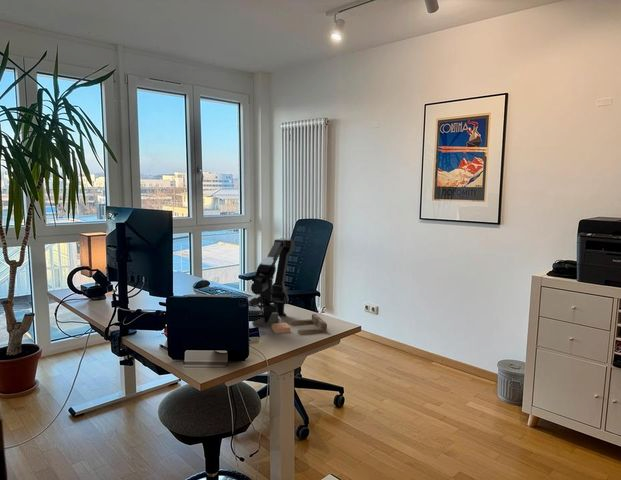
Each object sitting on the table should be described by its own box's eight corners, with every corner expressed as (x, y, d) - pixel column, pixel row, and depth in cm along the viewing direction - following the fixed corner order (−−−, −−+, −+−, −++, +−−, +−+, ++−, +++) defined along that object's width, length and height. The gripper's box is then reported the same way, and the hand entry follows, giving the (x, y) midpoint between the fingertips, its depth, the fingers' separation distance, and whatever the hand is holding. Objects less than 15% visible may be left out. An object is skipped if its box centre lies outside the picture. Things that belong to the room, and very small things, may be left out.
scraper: (254, 327, 199) (254, 316, 198) (251, 322, 206) (251, 312, 205) (280, 325, 203) (281, 314, 203) (277, 320, 210) (277, 310, 209)
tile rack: (289, 323, 206) (290, 315, 205) (315, 321, 210) (315, 313, 209) (299, 334, 192) (299, 325, 191) (326, 332, 196) (327, 323, 195)
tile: (271, 328, 199) (271, 323, 198) (286, 327, 201) (286, 322, 201) (275, 334, 192) (275, 328, 192) (290, 332, 194) (290, 327, 194)
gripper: (245, 285, 208) (244, 316, 210) (253, 295, 191) (252, 329, 193) (267, 284, 212) (266, 315, 214) (277, 294, 194) (276, 327, 196)
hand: (265, 321), depth 204 cm, fingers closed on scraper, 3 cm apart
